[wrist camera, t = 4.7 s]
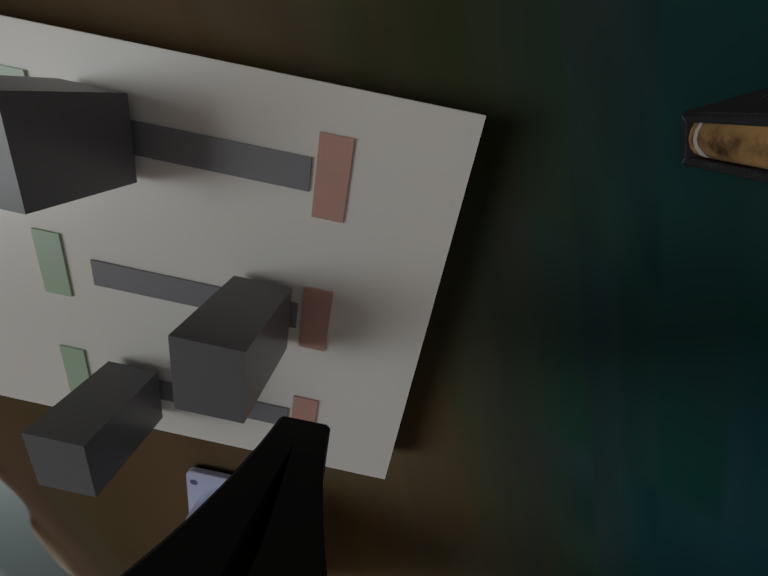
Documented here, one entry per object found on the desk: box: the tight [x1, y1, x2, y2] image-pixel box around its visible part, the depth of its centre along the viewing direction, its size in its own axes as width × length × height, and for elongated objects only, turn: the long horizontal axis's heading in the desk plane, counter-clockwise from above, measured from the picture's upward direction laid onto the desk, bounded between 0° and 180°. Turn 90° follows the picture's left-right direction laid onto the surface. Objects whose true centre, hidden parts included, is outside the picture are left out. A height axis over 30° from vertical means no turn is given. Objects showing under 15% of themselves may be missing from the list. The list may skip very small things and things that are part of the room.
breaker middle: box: [168, 276, 292, 424], centre depth 14 cm, size 3×2×4 cm
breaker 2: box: [21, 361, 163, 497], centre depth 17 cm, size 3×2×4 cm
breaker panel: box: [0, 14, 486, 479], centre depth 17 cm, size 18×22×2 cm
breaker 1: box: [0, 75, 137, 215], centre depth 12 cm, size 3×2×4 cm
